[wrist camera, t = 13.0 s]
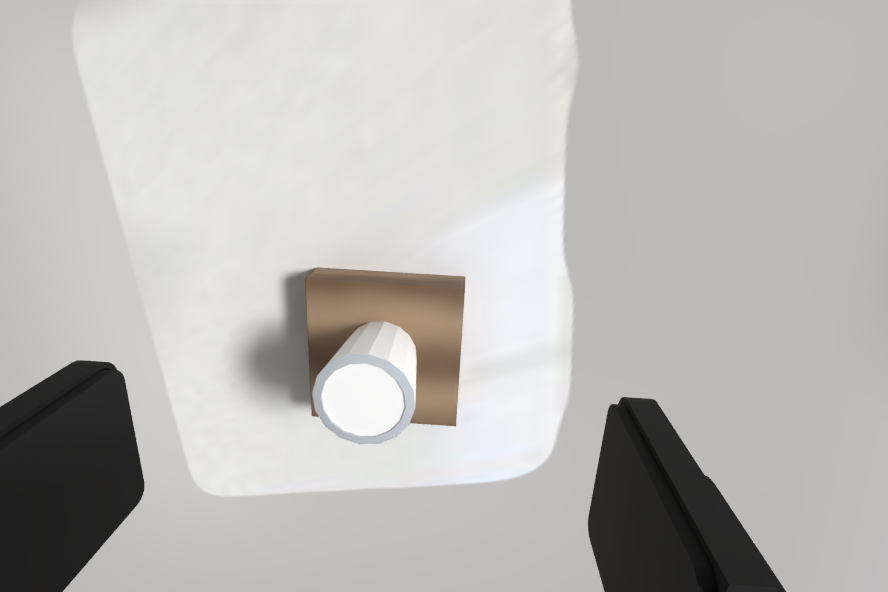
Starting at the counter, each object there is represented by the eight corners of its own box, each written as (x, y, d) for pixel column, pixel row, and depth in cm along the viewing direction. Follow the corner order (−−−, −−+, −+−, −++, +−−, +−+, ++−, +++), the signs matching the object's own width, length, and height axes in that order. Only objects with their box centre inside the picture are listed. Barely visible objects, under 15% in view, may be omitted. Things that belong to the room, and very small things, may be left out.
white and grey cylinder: (335, 385, 41) (309, 437, 34) (341, 307, 38) (313, 347, 32) (419, 398, 41) (409, 452, 34) (429, 320, 38) (421, 362, 32)
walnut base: (316, 267, 40) (305, 279, 38) (465, 276, 40) (464, 288, 37) (321, 397, 45) (311, 416, 42) (456, 406, 44) (455, 426, 41)
